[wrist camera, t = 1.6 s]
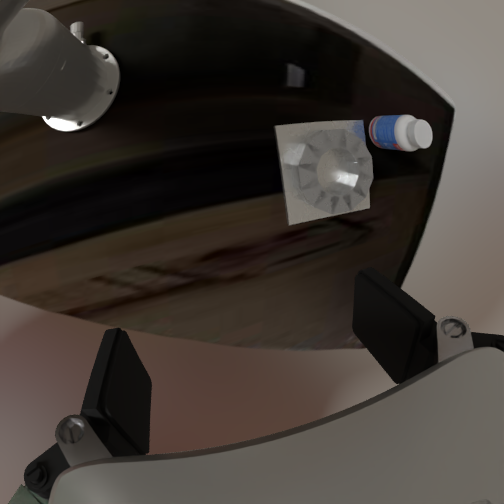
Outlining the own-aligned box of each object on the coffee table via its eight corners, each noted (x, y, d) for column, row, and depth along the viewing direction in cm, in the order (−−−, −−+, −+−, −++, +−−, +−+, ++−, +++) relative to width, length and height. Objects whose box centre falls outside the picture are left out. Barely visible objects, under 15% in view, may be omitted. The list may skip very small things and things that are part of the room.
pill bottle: (368, 148, 38) (410, 153, 29) (366, 115, 36) (408, 112, 27) (394, 148, 39) (436, 153, 30) (391, 117, 37) (434, 116, 28)
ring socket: (273, 126, 34) (282, 124, 31) (359, 120, 36) (374, 119, 33) (287, 223, 40) (296, 231, 36) (367, 206, 42) (381, 212, 38)
